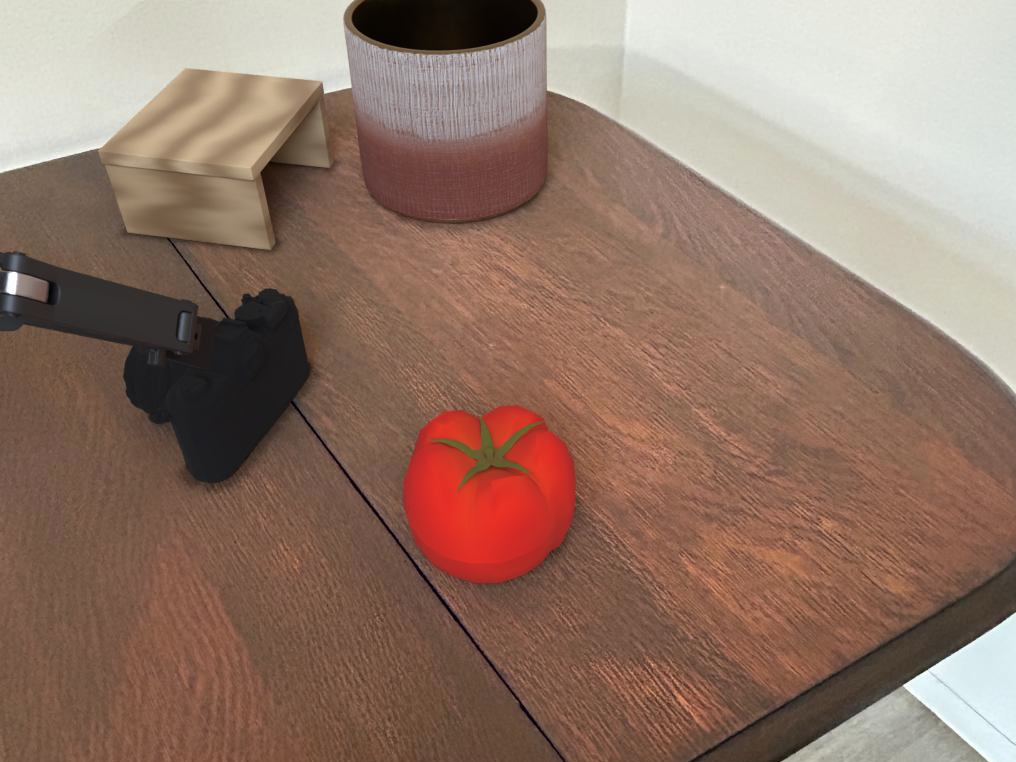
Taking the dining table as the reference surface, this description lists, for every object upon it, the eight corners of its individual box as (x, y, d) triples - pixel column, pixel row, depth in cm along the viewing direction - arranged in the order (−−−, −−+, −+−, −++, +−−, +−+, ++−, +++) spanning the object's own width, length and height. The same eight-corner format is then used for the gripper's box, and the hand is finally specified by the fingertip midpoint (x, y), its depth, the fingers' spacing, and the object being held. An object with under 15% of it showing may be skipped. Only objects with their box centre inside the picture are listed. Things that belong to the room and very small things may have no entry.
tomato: (394, 601, 64) (377, 500, 57) (433, 470, 72) (422, 367, 65) (562, 619, 63) (565, 518, 56) (583, 484, 71) (588, 382, 64)
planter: (379, 137, 106) (358, -28, 94) (550, 140, 105) (551, -26, 94) (350, 229, 94) (323, 53, 82) (544, 232, 93) (544, 56, 82)
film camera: (218, 343, 82) (189, 243, 76) (326, 367, 80) (306, 267, 73) (104, 465, 73) (60, 364, 66) (224, 497, 70) (190, 396, 64)
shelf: (125, 234, 93) (97, 150, 87) (205, 147, 104) (185, 67, 98) (269, 252, 91) (250, 167, 85) (335, 161, 102) (322, 80, 96)
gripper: (-508, 294, 41) (-98, 366, 62) (60, 377, 37) (291, 424, 58) (-490, 104, 40) (-83, 242, 61) (85, 169, 37) (309, 292, 58)
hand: (99, 330), depth 60 cm, fingers open, 13 cm apart
